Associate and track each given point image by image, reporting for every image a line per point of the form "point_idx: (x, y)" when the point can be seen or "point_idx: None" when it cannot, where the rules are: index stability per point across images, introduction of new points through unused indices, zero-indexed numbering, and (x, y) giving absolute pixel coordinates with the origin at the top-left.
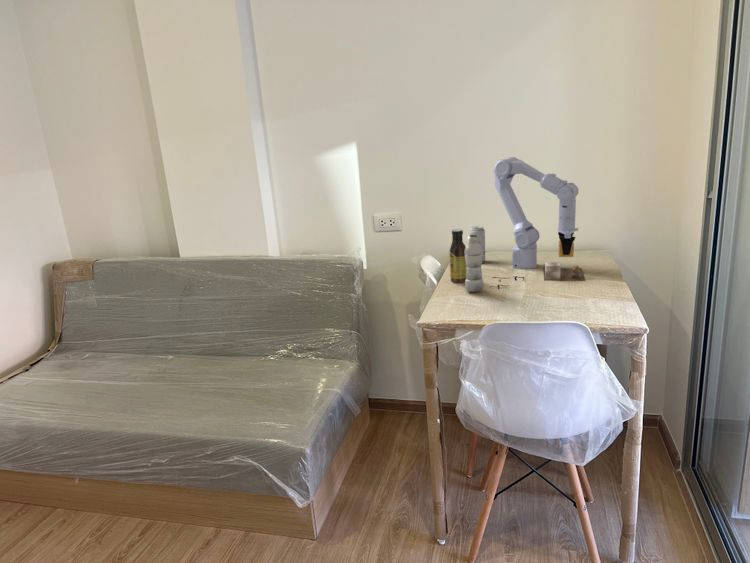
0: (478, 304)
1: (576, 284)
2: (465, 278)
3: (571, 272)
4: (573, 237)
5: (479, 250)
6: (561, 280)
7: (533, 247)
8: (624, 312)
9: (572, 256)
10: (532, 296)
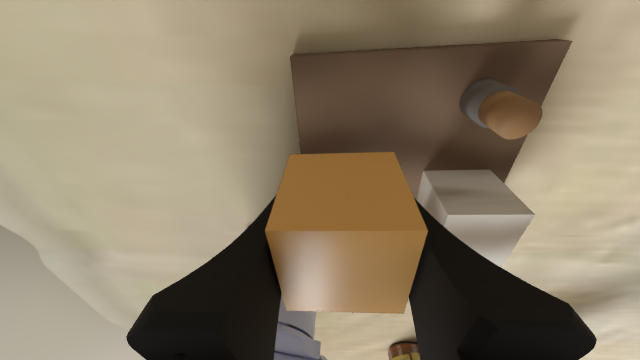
0: (609, 326)
1: (550, 92)
2: (416, 350)
3: (379, 117)
4: (559, 344)
5: None
6: (509, 164)
7: (299, 333)
8: None
9: (393, 159)
10: (622, 242)
